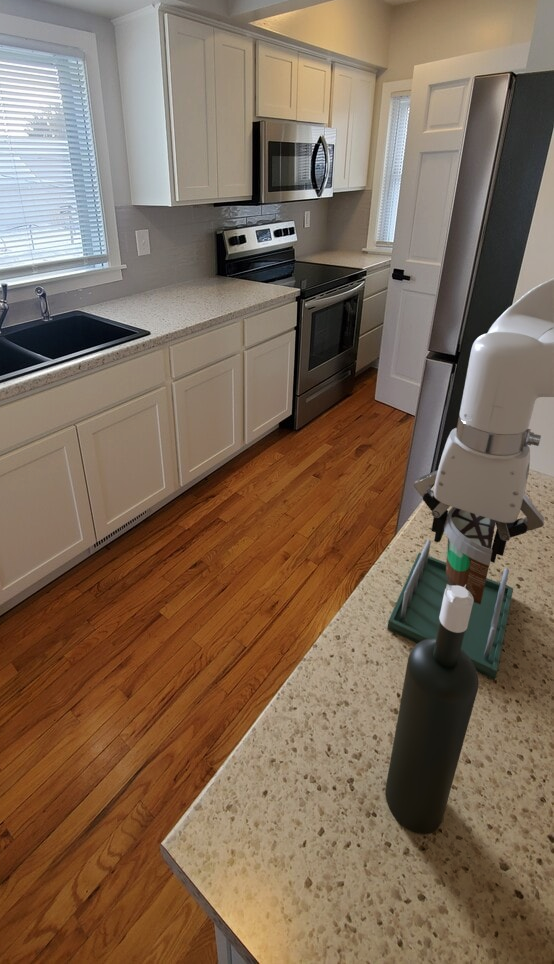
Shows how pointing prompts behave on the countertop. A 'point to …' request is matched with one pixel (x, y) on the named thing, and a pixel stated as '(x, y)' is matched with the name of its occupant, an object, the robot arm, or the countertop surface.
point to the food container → (468, 550)
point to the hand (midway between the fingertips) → (465, 544)
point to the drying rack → (423, 607)
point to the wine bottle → (432, 719)
